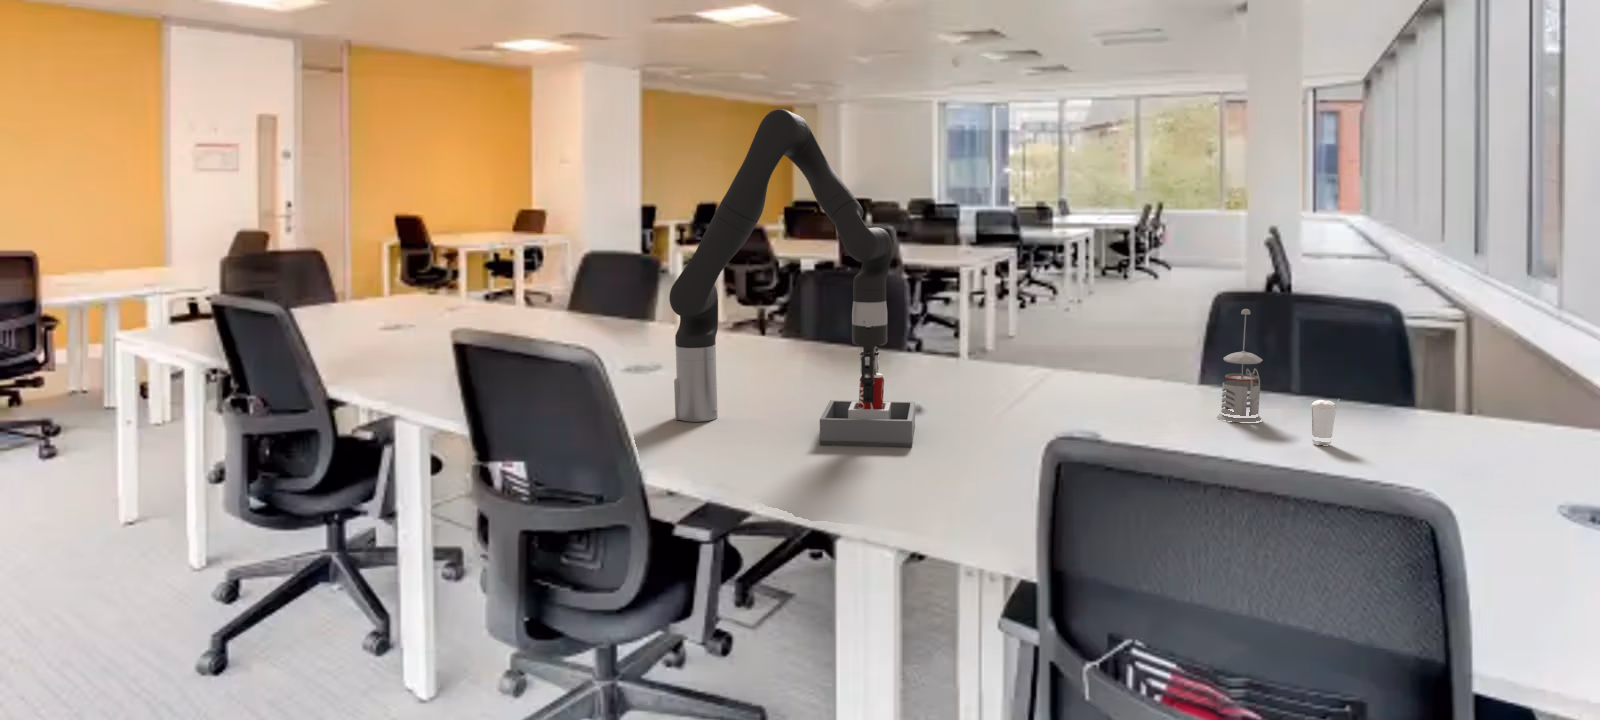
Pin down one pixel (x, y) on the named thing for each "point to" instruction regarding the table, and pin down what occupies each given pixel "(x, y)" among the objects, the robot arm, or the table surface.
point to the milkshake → (1323, 420)
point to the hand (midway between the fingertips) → (869, 398)
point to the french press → (1241, 387)
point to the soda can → (877, 393)
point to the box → (868, 424)
